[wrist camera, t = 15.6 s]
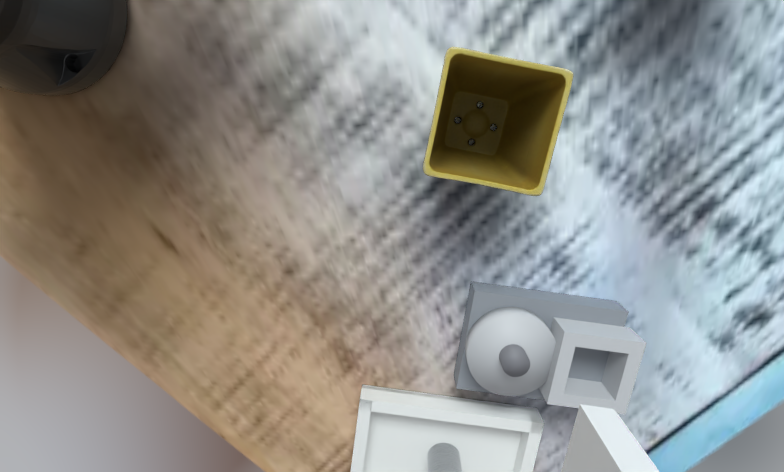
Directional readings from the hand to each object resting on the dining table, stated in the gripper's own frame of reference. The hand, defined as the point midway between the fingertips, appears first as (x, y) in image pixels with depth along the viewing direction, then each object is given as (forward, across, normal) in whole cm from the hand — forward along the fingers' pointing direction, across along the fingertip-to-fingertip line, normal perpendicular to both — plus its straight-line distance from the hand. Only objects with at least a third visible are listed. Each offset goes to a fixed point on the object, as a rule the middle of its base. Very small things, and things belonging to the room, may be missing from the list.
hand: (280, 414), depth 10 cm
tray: (+33, +10, -26) cm, 43 cm away
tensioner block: (+33, +17, -12) cm, 39 cm away
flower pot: (+33, +8, +7) cm, 35 cm away
